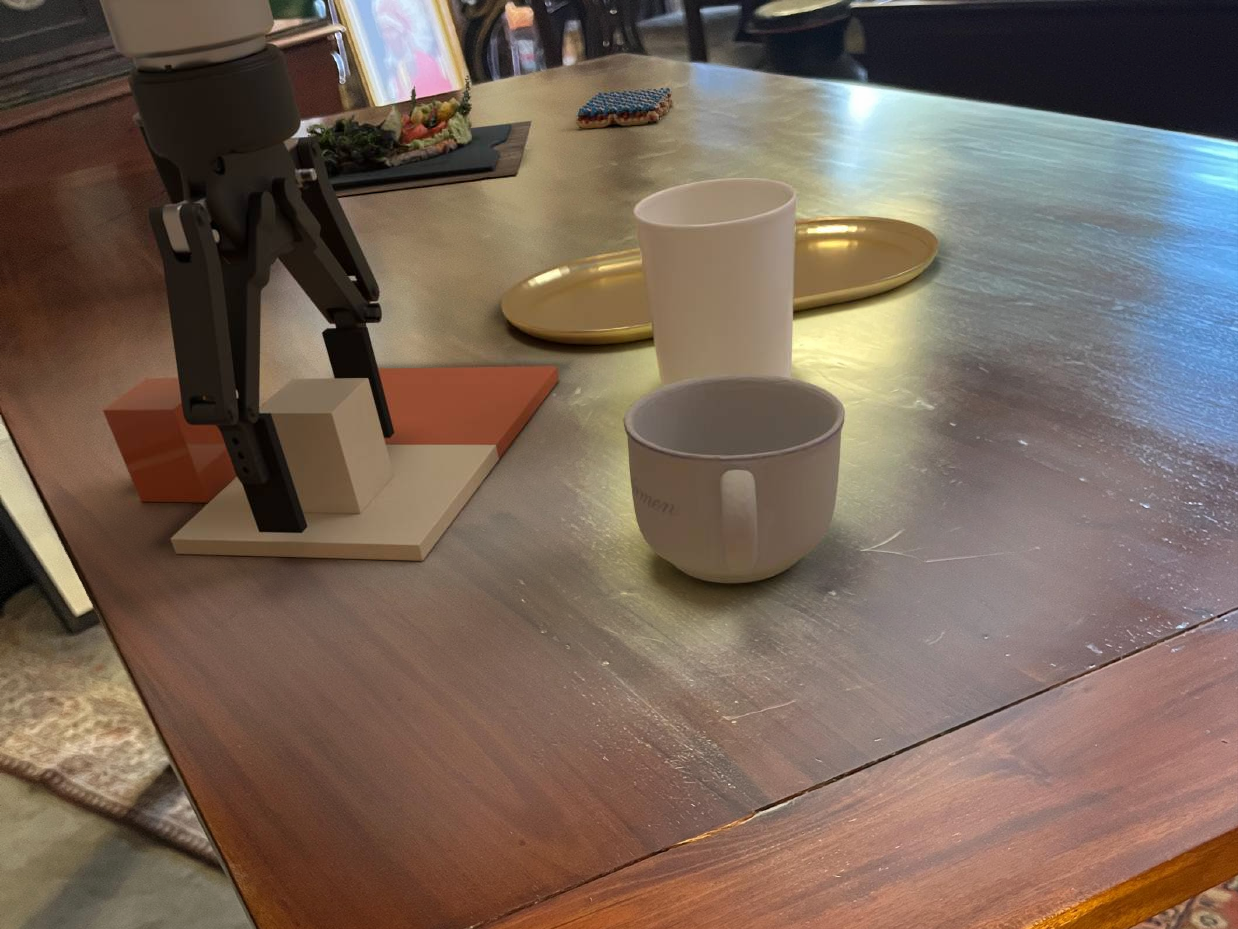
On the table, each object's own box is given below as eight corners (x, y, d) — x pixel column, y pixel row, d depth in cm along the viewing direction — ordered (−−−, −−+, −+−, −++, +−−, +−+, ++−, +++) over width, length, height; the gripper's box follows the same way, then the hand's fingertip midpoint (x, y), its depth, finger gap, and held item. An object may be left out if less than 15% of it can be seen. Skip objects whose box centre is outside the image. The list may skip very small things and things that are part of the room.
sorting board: (175, 554, 72) (169, 538, 71) (356, 382, 90) (352, 368, 89) (423, 561, 68) (418, 544, 67) (559, 379, 86) (557, 365, 85)
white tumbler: (794, 430, 75) (789, 219, 67) (641, 434, 77) (617, 230, 69) (808, 369, 82) (804, 172, 74) (667, 375, 84) (648, 183, 76)
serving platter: (491, 294, 102) (488, 274, 101) (887, 223, 105) (888, 203, 104) (521, 370, 88) (517, 348, 87) (976, 285, 91) (977, 263, 90)
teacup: (663, 508, 69) (648, 367, 64) (853, 508, 67) (854, 361, 62) (607, 640, 60) (583, 486, 54) (827, 644, 57) (825, 484, 52)
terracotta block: (140, 502, 78) (102, 410, 74) (180, 467, 81) (145, 378, 77) (208, 503, 77) (173, 409, 72) (245, 468, 80) (214, 377, 76)
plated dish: (531, 119, 152) (520, 50, 147) (522, 179, 131) (509, 101, 126) (260, 157, 154) (240, 90, 149) (209, 222, 133) (184, 147, 128)
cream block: (285, 512, 72) (251, 413, 68) (321, 475, 75) (291, 378, 71) (360, 514, 71) (331, 413, 67) (394, 476, 74) (368, 377, 70)
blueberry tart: (677, 104, 149) (675, 85, 148) (658, 125, 142) (656, 105, 141) (596, 110, 152) (594, 91, 151) (573, 131, 144) (571, 111, 143)
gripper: (132, 104, 49) (296, 583, 63) (373, 1, 65) (459, 398, 80) (-22, 116, 50) (172, 579, 65) (251, 13, 67) (357, 399, 82)
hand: (331, 480), depth 73 cm, fingers open, 12 cm apart
